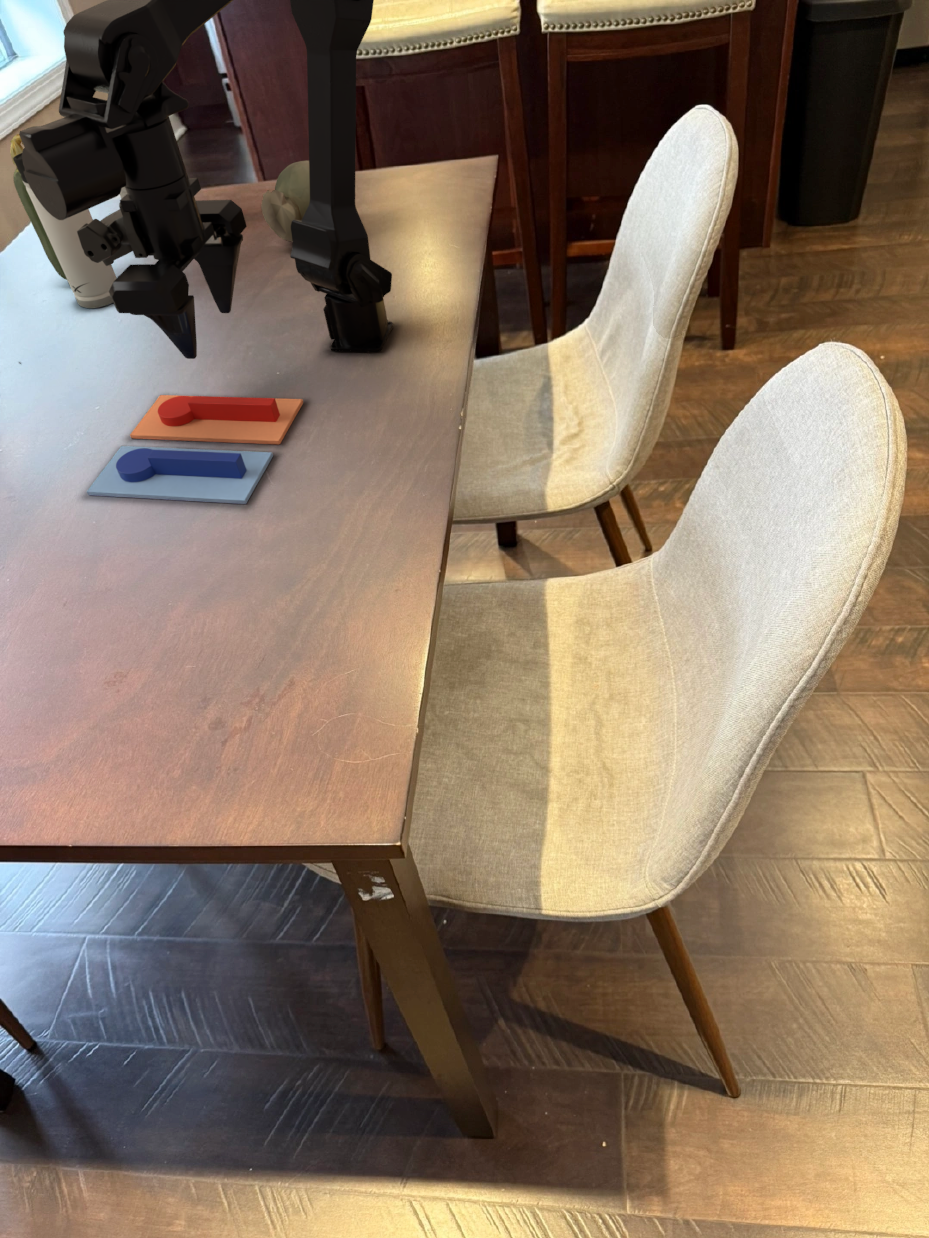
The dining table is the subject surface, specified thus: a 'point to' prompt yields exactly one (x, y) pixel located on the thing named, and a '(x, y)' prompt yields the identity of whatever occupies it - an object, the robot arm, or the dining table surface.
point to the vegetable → (33, 209)
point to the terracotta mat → (219, 426)
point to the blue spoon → (179, 464)
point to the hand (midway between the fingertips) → (209, 334)
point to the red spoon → (217, 409)
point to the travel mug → (74, 253)
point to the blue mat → (184, 481)
